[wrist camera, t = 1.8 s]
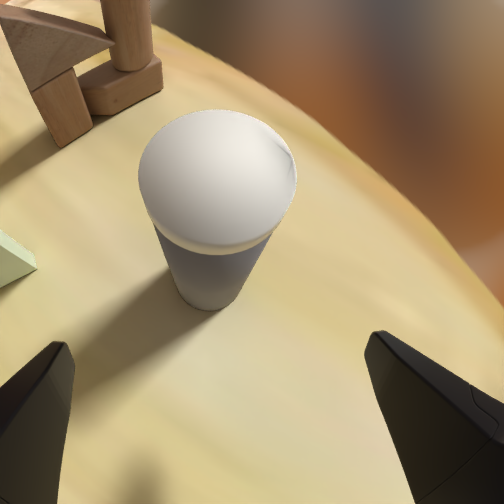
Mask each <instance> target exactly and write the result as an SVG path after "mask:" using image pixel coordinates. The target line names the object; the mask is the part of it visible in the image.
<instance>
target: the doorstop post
mask: <svg viewBox="0 0 504 504" xmlns="http://www.w3.org/2000/svg"><path fill="white" fill-rule="evenodd" d="M138 181H139V187H140V191H141V194H142V197H143V200H144V203H145V206H146V209H147V212H148V214H149V216H150V218H151V220H152V222H153V224H154V227H155V230H156V233H157V236H158V238H159V241H160V244H161V247H162V249H163V252H164V255H165V258H166V260H167V263H168V266H169V268H170V271H171V274H172V276H173V279H174V281H175V284H176V286H177V289H178V291H179V293H180V295H181V297H182V298H183V299H184V300H185V301H186V302H187V303H188V304H189V305H191V306H192V307H194V308H197V309H200V310H204V311H214V310H219V309H222V308H224V307H226V306H228V305H229V304H230V303H232V302H233V301H234V300H235V298H236V297H237V295H238V294H239V292H240V290H241V288H242V286H243V285H244V283H245V281H246V279H247V278H248V276H249V274H250V272H251V270H252V269H253V267H254V265H255V263H256V261H257V260H258V258H259V256H260V254H261V252H262V251H263V249H264V247H265V245H266V243H267V242H268V240H269V238H270V236H271V234H272V233H273V231H274V230H275V229H276V227H277V226H278V225H279V223H280V222H281V220H282V218H283V216H284V215H285V213H286V211H287V209H288V207H289V206H290V204H291V202H292V199H293V197H294V194H295V190H296V184H297V173H296V166H295V162H294V159H293V156H292V154H291V152H290V150H289V148H288V146H287V145H286V143H285V142H284V141H283V139H282V138H281V137H280V136H279V135H278V134H277V133H276V132H275V131H274V130H273V129H271V128H270V127H269V126H268V125H266V124H265V123H263V122H261V121H260V120H258V119H256V118H253V117H251V116H249V115H246V114H243V113H239V112H235V111H229V110H203V111H197V112H193V113H190V114H186V115H184V116H181V117H179V118H177V119H175V120H173V121H171V122H170V123H168V124H167V125H165V126H164V127H163V128H162V129H160V130H159V131H158V132H157V133H156V134H155V135H154V137H153V138H152V139H151V140H150V142H149V143H148V145H147V146H146V148H145V150H144V152H143V154H142V157H141V160H140V164H139V171H138Z"/></svg>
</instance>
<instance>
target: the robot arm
mask: <svg viewBox="0 0 504 504" xmlns="http://www.w3.org/2000/svg"><path fill="white" fill-rule="evenodd" d="M364 357H365V361H366V364H367V368H368V371H369V375H370V378H371V382H372V385H373V389H374V392H375V396H376V399H377V401H378V404H379V407H380V409H381V412H382V414H383V417H384V419H385V422H386V424H387V427H388V430H389V432H390V435H391V437H392V440H393V443H394V445H395V448H396V451H397V454H398V456H399V459H400V462H401V464H402V467H403V470H404V473H405V476H406V478H407V481H408V484H409V487H410V490H411V493H412V496H413V499H414V502H415V504H504V403H502V402H500V401H498V400H496V399H494V398H492V397H491V396H489V395H487V394H486V393H484V392H482V391H481V390H479V389H477V388H476V387H474V386H473V385H470V384H469V383H468V382H466V381H465V380H463V379H461V378H460V377H458V376H457V375H455V374H454V373H452V372H450V371H449V370H447V369H446V368H444V367H442V366H441V365H439V364H438V363H436V362H434V361H433V360H431V359H430V358H428V357H427V356H425V355H423V354H422V353H420V352H419V351H417V350H415V349H414V348H412V347H411V346H409V345H407V344H406V343H404V342H403V341H401V340H399V339H398V338H396V337H395V336H393V335H391V334H390V333H388V332H387V331H384V330H381V331H374V332H372V334H371V335H370V338H369V341H368V343H367V346H366V349H365V352H364ZM74 372H75V364H74V360H73V358H72V355H71V353H70V350H69V348H68V345H67V344H66V343H65V342H61V341H53V342H51V343H50V344H49V345H48V346H46V347H45V348H44V349H43V350H42V351H41V352H40V353H38V354H37V355H36V356H35V357H34V358H33V359H32V360H30V361H29V362H28V363H27V364H26V365H25V366H24V367H22V368H21V369H20V370H19V371H18V372H17V373H16V374H15V375H14V376H12V377H11V378H10V379H9V380H8V381H7V382H6V383H5V384H4V385H2V386H1V387H0V504H57V499H58V489H59V480H60V472H61V464H62V457H63V450H64V444H65V438H66V433H67V427H68V422H69V416H70V409H71V398H72V389H73V380H74Z"/></svg>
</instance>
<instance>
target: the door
mask: <svg viewBox="0 0 504 504" xmlns="http://www.w3.org/2000/svg"><path fill="white" fill-rule="evenodd" d="M36 269H37V266H36V261H35V257H34V254H33V253H31V252H30V251H29V250H27V249H26V248H24V247H23V246H22V245H20V244H19V243H18V242H16V241H15V240H14V239H12V238H11V237H10V236H8V235H7V234H6V233H4V232H3V231H2V230H0V288H1V287H3V286H5V285H7V284H9V283H11V282H13V281H14V280H16V279H18V278H20V277H22V276H24V275H26V274H28V273H30V272H32V271H34V270H36Z"/></svg>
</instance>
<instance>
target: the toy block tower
mask: <svg viewBox="0 0 504 504" xmlns="http://www.w3.org/2000/svg"><path fill="white" fill-rule="evenodd" d="M100 2H101V8H102V14H103V20H104V25H105V31H106V34H105V33H104V32H103V31H102V30H101V29H100V28H97V27H94V26H91V25H88V24H84V23H81V22H78V21H74V20H71V19H67V18H63V17H59V16H56V15H52V14H48V13H43V12H39V11H35V10H30V9H25V8H20V7H15V6H9V5H3V4H0V25H1V27H2V30H3V32H4V35H5V37H6V40H7V42H8V45H9V47H10V49H11V52H12V54H13V56H14V59H15V61H16V63H17V65H18V68H19V70H20V72H21V74H22V76H23V79H24V81H25V83H26V85H27V87H28V90H29V92H30V94H31V96H32V98H33V100H34V102H35V104H36V106H37V108H38V110H39V112H40V114H41V116H42V118H43V120H44V122H45V123H46V125H47V127H48V129H49V131H50V133H51V135H52V136H53V138H54V140H55V142H56V144H57V145H58V146H59V147H60V148H62V147H64V146H65V145H67V144H68V143H70V142H71V141H73V140H74V139H76V138H77V137H79V136H81V135H82V134H84V133H85V132H87V131H88V130H90V129H91V128H92V127H93V122H92V119H91V117H90V115H114V114H116V113H118V112H120V111H121V110H123V109H125V108H127V107H129V106H130V105H132V104H134V103H136V102H138V101H140V100H142V99H144V98H146V97H148V96H150V95H152V94H154V93H156V92H158V91H160V90H162V89H163V75H162V62H161V60H160V59H159V58H158V57H157V56H156V55H154V54H153V43H152V30H151V16H150V15H151V14H150V0H100ZM108 48H109V52H110V56H111V60H109V61H107V62H105V63H103V64H101V65H99V66H97V67H95V68H93V69H92V70H90V71H88V72H86V73H84V74H82V75H81V76H79V77H76V74H75V71H74V68H73V66H74V65H76V64H78V63H80V62H82V61H84V60H86V59H87V58H89V57H91V56H93V55H95V54H97V53H99V52H101V51H103V50H105V49H108Z"/></svg>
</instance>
